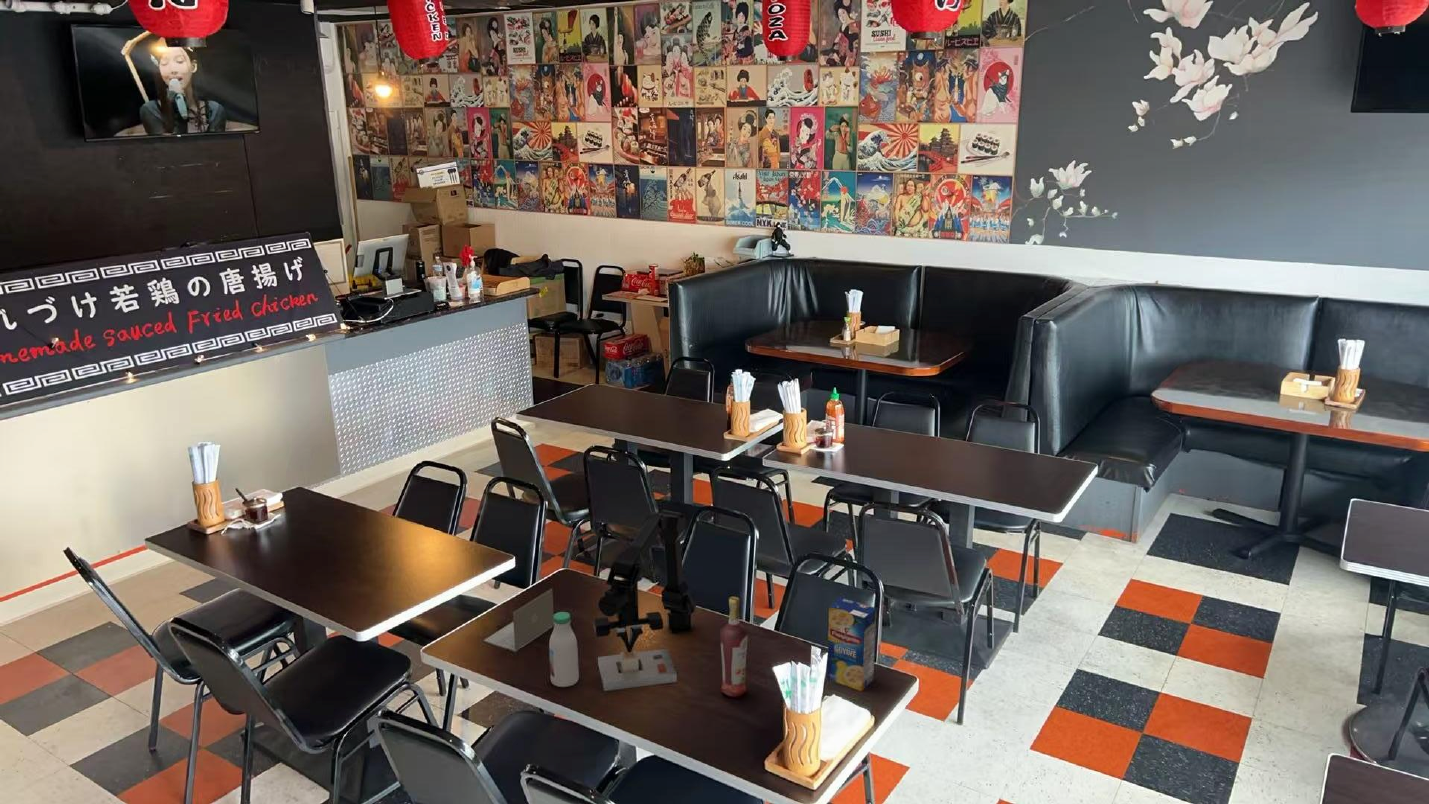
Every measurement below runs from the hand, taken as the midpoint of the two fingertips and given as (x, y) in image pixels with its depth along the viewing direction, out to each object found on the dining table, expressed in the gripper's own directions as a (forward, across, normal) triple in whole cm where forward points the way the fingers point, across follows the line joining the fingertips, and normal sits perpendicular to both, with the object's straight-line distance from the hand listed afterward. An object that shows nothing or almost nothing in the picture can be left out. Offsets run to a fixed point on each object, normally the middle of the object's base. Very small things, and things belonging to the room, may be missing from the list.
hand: (629, 651), depth 282 cm
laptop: (+8, +29, -31) cm, 43 cm away
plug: (+7, 0, 0) cm, 7 cm away
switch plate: (+7, -2, 0) cm, 7 cm away
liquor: (+7, -26, +16) cm, 31 cm away
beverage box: (+7, -59, +17) cm, 62 cm away
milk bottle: (+7, +18, -1) cm, 19 cm away
